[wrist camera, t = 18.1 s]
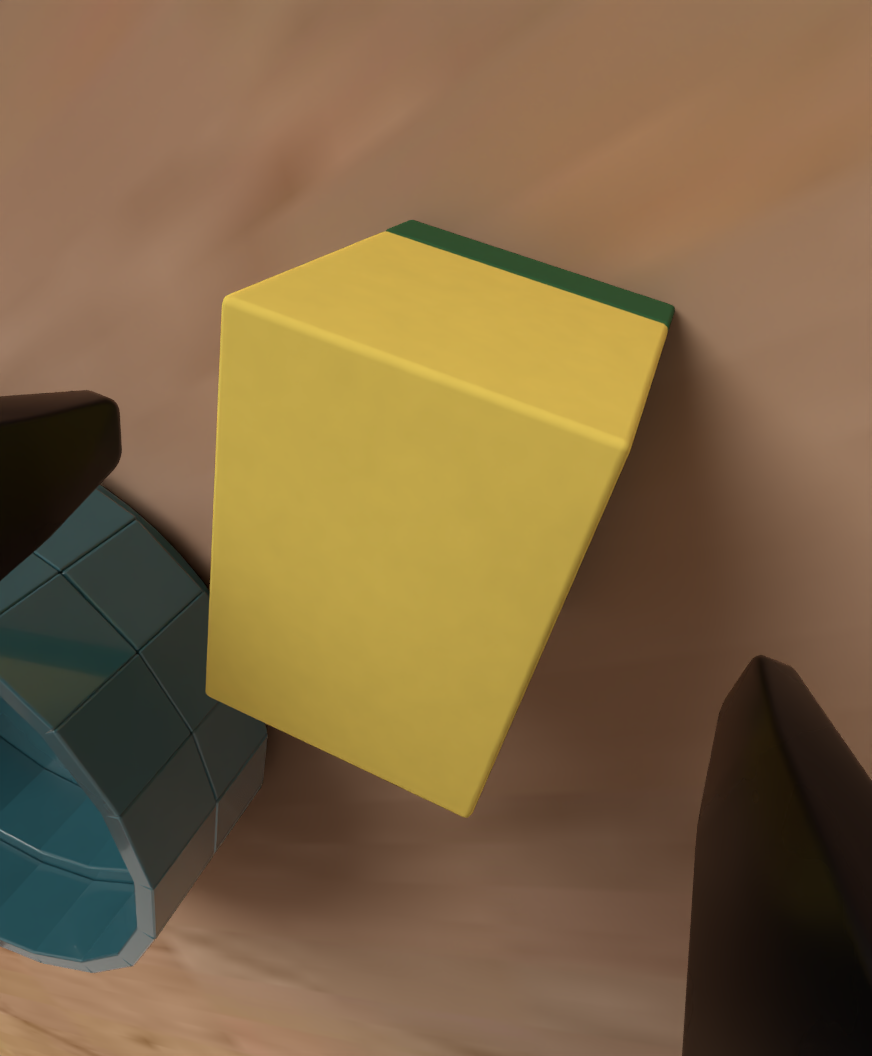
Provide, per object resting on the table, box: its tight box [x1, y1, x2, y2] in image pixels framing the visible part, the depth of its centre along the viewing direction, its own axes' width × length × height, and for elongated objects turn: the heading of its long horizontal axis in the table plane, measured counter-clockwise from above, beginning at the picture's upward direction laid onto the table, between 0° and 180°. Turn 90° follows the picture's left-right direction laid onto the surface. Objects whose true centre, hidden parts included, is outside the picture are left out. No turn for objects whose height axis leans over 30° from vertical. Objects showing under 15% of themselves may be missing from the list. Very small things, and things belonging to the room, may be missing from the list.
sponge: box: [205, 220, 675, 818], centre depth 10 cm, size 6×4×5 cm
